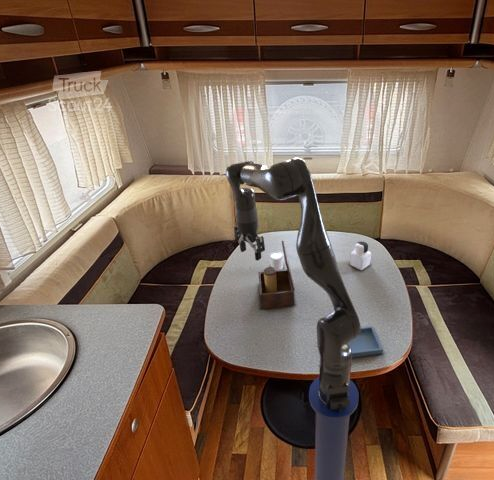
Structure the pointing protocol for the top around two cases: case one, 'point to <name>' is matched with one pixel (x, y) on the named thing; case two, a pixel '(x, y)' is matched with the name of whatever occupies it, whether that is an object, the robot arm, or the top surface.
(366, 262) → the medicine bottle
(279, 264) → the white cylinder
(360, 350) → the tray
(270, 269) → the cookie roll
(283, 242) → the chest lid
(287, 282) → the chest
